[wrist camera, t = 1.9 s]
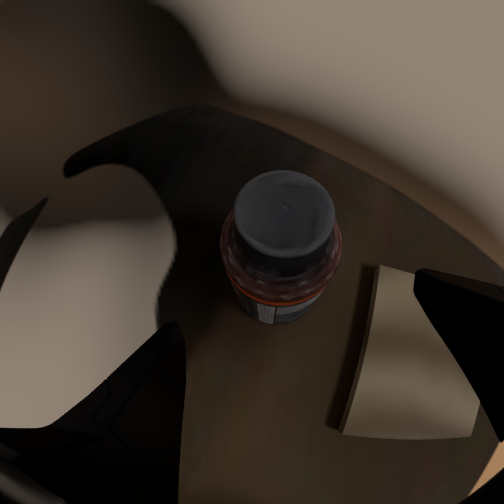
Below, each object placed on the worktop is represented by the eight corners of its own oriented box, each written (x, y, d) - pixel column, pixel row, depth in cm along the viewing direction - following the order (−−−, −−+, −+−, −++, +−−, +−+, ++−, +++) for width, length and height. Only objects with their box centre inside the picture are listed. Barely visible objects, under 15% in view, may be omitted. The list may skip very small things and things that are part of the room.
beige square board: (463, 434, 14) (470, 436, 13) (337, 430, 16) (342, 434, 15) (484, 300, 19) (491, 296, 18) (374, 270, 21) (380, 264, 20)
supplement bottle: (230, 260, 22) (200, 162, 11) (303, 245, 22) (330, 143, 12) (244, 334, 19) (218, 296, 9) (323, 317, 20) (382, 261, 9)
